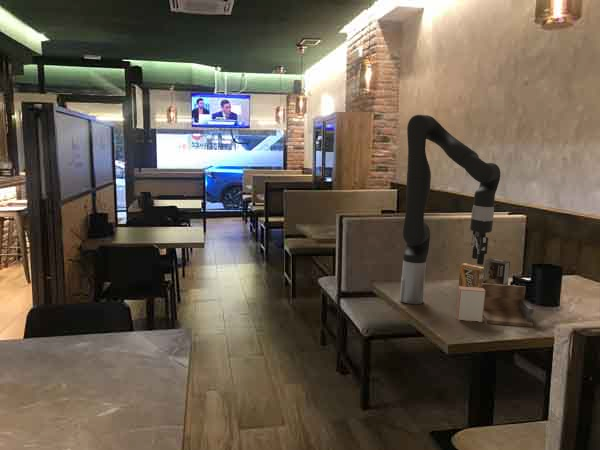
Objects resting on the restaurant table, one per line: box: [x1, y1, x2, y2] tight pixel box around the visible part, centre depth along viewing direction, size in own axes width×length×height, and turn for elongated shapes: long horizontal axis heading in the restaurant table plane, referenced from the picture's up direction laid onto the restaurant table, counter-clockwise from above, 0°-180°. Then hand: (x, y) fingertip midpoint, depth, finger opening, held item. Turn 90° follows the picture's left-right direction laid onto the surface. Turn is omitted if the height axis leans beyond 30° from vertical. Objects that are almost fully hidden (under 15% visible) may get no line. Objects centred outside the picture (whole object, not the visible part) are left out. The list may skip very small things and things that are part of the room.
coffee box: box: [483, 257, 511, 285], centre depth 211 cm, size 9×6×16 cm
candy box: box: [458, 263, 484, 288], centre depth 204 cm, size 9×4×15 cm, turn 44°
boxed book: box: [455, 285, 486, 323], centre depth 183 cm, size 9×4×12 cm, turn 81°
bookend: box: [482, 283, 534, 328], centre depth 185 cm, size 16×14×11 cm
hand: (477, 261), depth 181 cm, fingers open, 8 cm apart
